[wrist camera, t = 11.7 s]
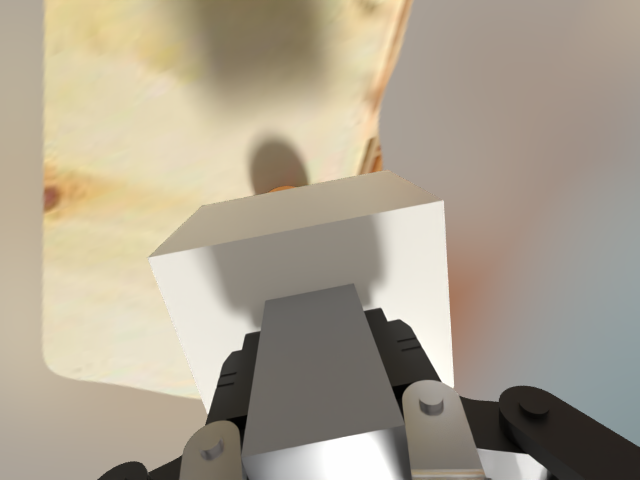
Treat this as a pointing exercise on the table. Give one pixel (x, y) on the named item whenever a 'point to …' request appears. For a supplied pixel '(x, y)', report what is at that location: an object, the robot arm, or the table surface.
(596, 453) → the robot arm
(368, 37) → the table surface
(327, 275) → the white block
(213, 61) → the table surface
